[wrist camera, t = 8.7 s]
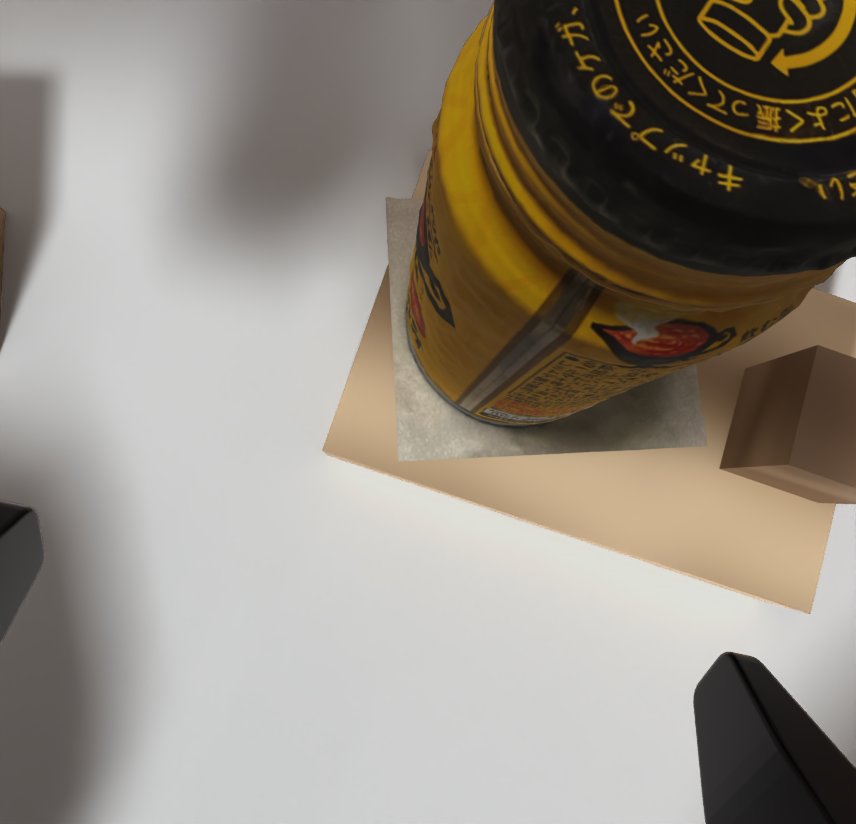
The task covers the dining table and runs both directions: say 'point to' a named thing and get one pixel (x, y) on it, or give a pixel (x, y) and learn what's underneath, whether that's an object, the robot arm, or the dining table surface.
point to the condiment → (615, 217)
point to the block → (1, 247)
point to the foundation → (668, 458)
